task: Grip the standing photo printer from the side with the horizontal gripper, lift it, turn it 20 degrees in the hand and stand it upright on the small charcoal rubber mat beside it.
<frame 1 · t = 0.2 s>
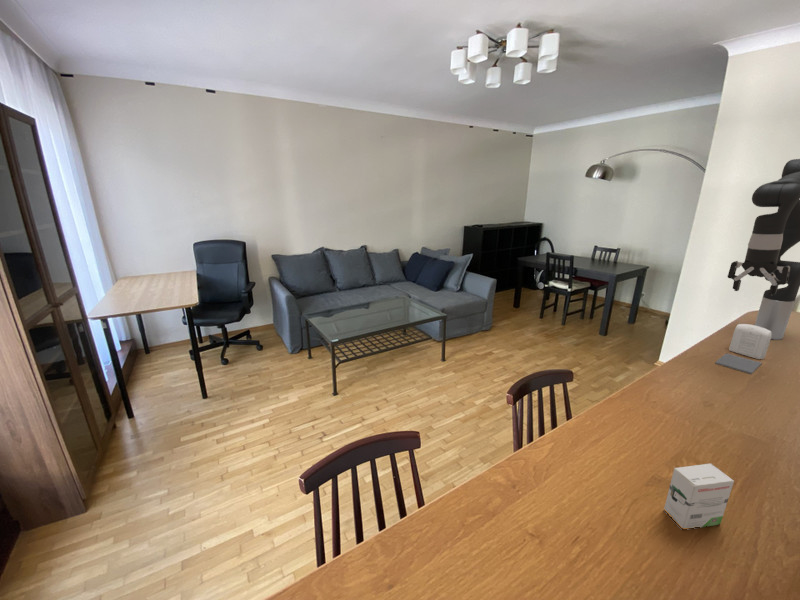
hand: (752, 292, 116), 29 cm above the table, tool pointing down, fingers open, 8 cm apart
ink box: (690, 518, 70), on the table
rubber mat: (737, 363, 126), on the table
photo printer: (746, 354, 132), on the table
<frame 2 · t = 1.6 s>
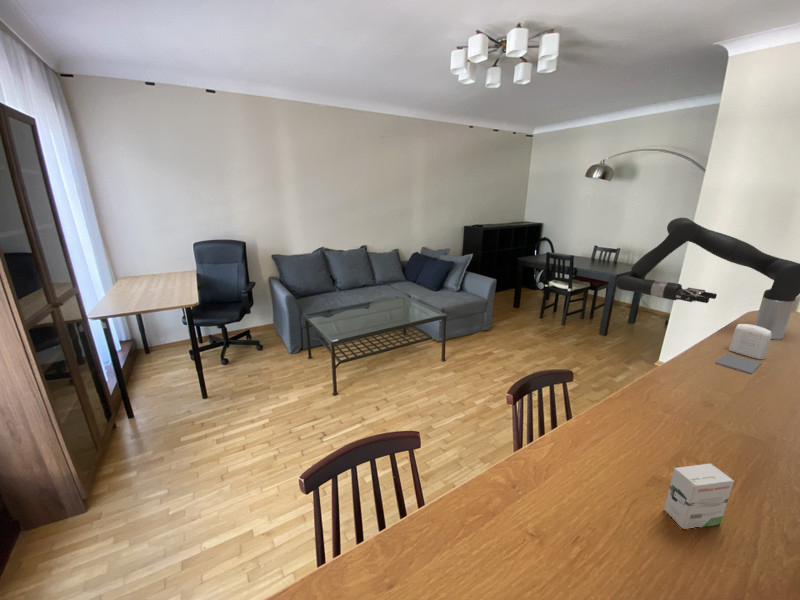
hand: (712, 298, 137), 20 cm above the table, tool horizontal, fingers open, 8 cm apart
nothing on the table moved.
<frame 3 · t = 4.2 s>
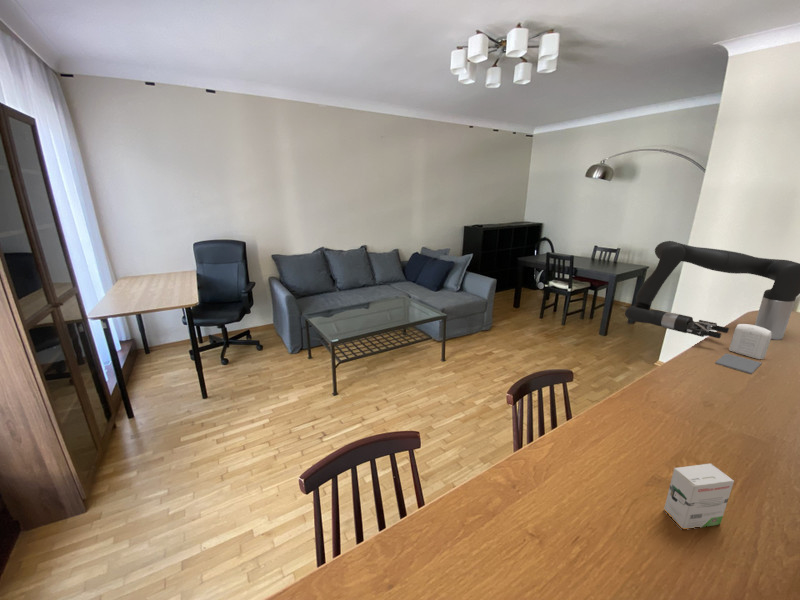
hand: (724, 333, 137), 6 cm above the table, tool horizontal, fingers open, 8 cm apart
nothing on the table moved.
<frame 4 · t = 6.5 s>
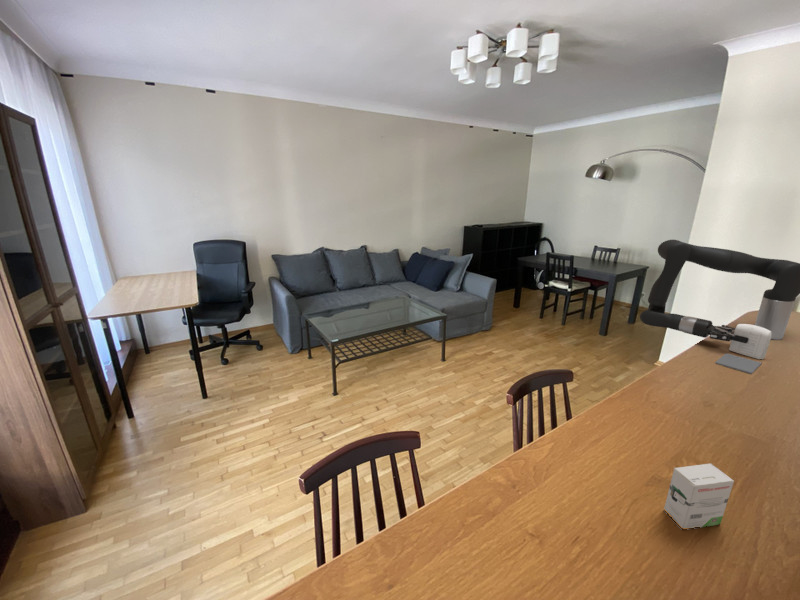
hand: (749, 339, 131), 7 cm above the table, tool horizontal, fingers closed on photo printer, 4 cm apart
photo printer: (746, 354, 132), on the table, touching gripper
everything else where it was.
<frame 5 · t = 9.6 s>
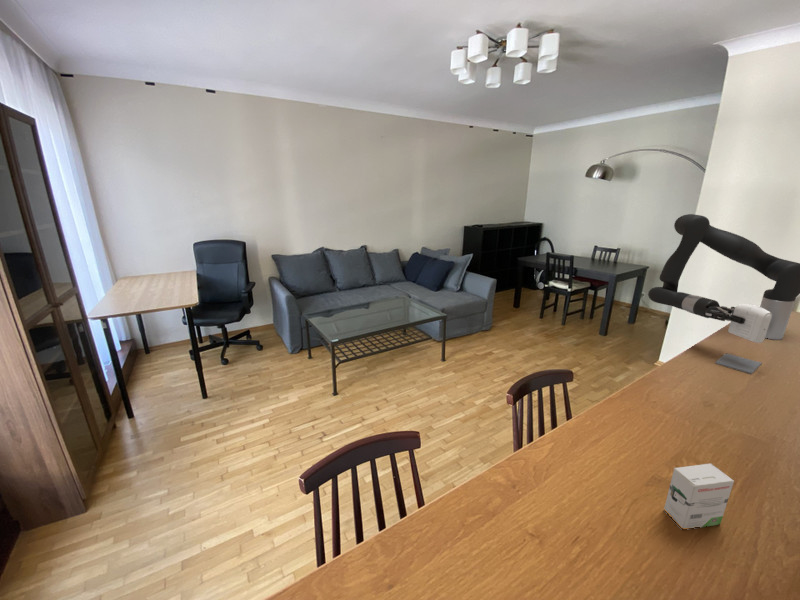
hand: (749, 320, 121), 18 cm above the table, tool horizontal, fingers closed on photo printer, 4 cm apart
photo printer: (744, 337, 123), point 11 cm above the table, touching gripper
everything else where it was.
when the fingers open (8 cm above the table, at t = 12.6 s): photo printer stays where it is, resting on rubber mat.
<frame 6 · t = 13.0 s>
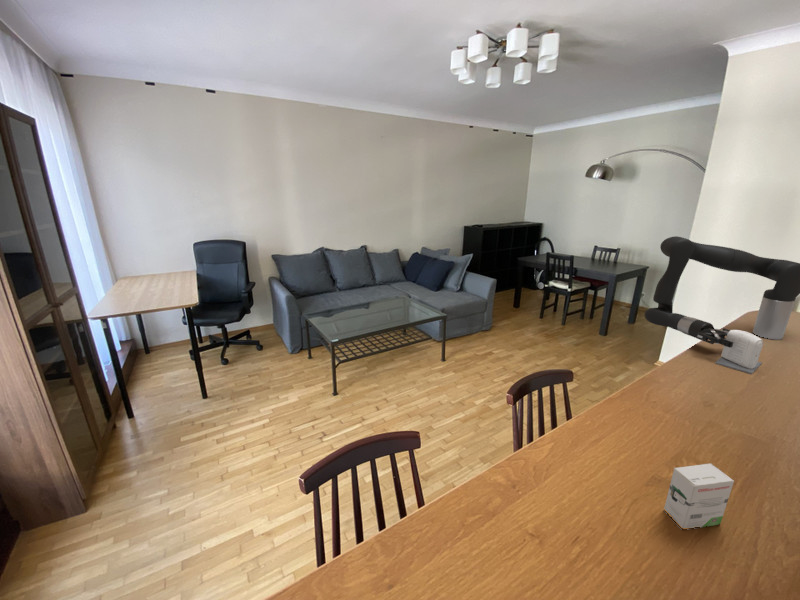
hand: (740, 343, 124), 8 cm above the table, tool horizontal, fingers open, 7 cm apart
photo printer: (737, 362, 126), resting on rubber mat
everything else where it was.
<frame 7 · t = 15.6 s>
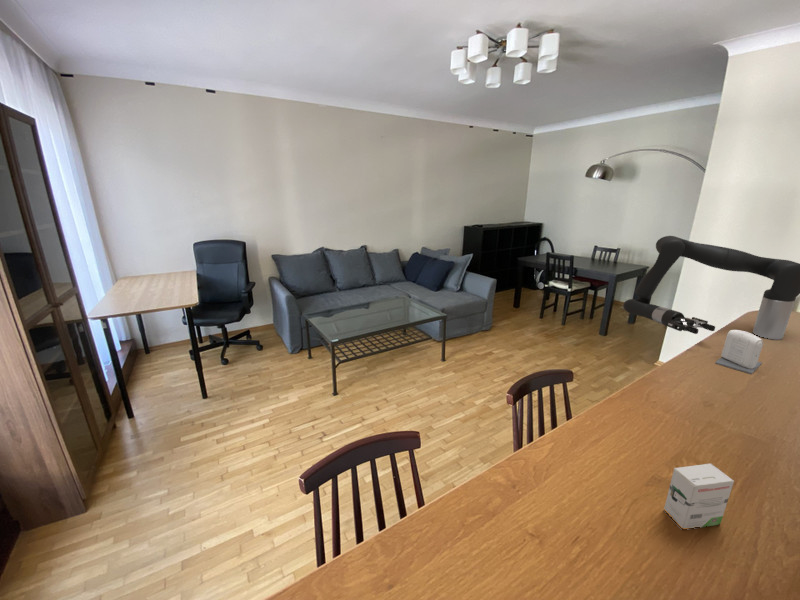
hand: (705, 330, 136), 9 cm above the table, tool horizontal, fingers open, 8 cm apart
nothing on the table moved.
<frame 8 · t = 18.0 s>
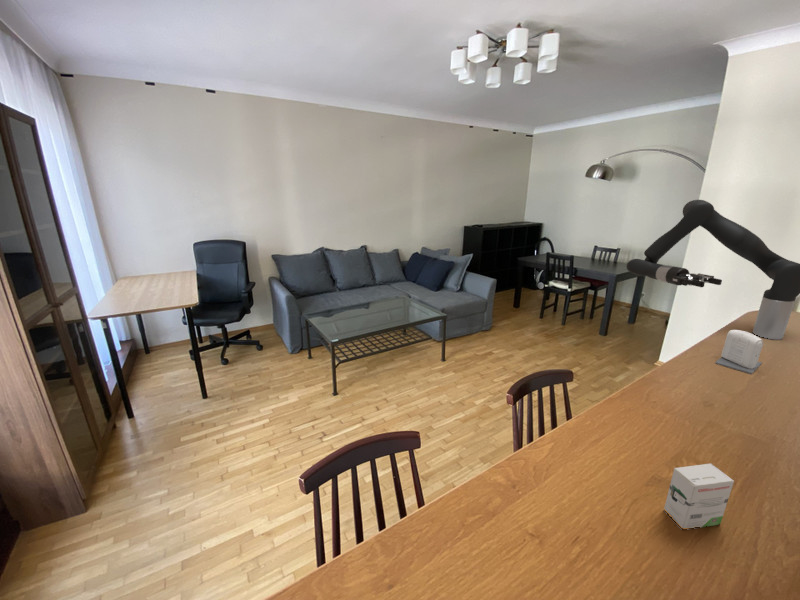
hand: (712, 283, 131), 28 cm above the table, tool horizontal, fingers open, 8 cm apart
nothing on the table moved.
at the end: photo printer inside the target area (0.1 cm from its centre), resting on rubber mat; photo printer tilted 0°; the gripper is holding nothing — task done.
